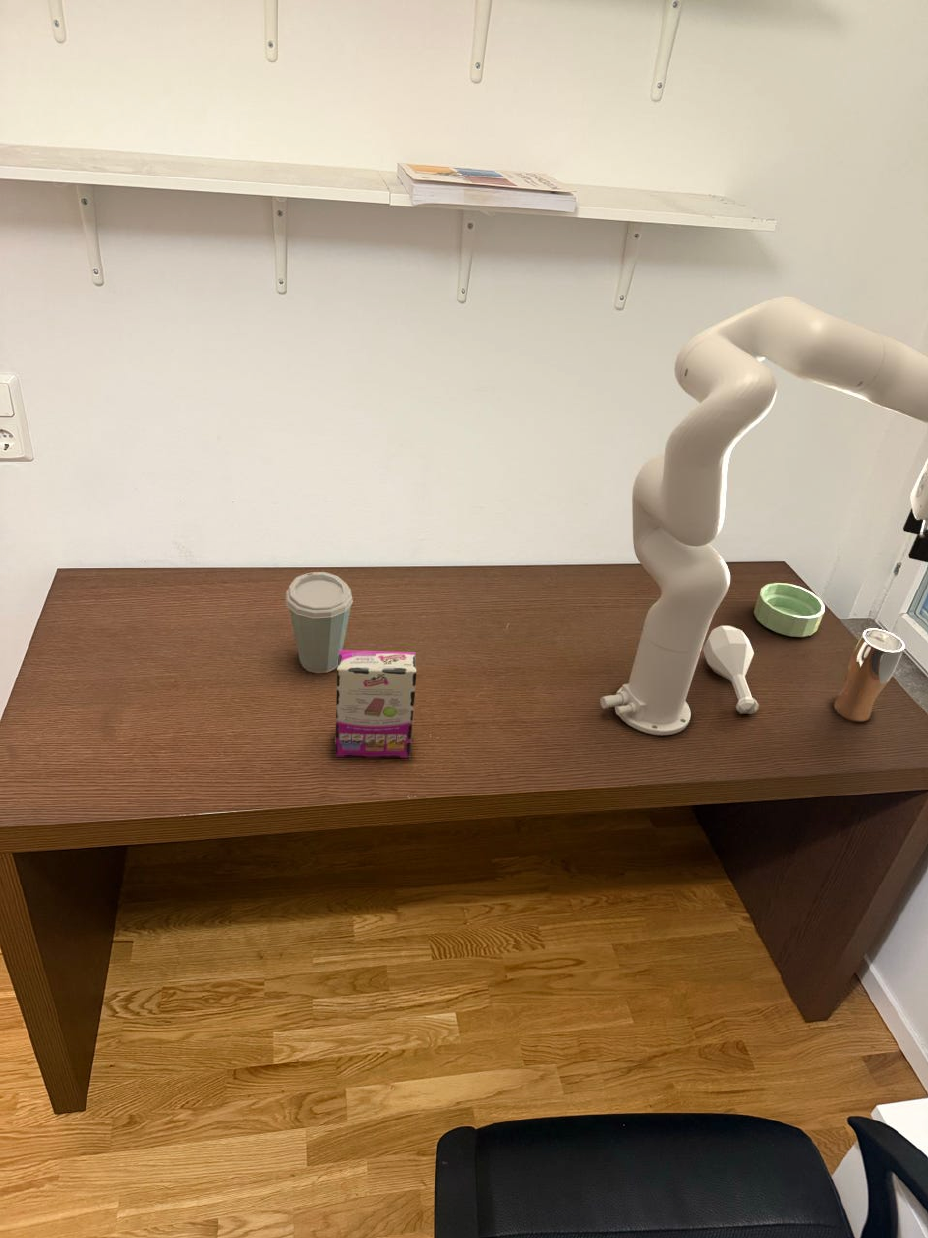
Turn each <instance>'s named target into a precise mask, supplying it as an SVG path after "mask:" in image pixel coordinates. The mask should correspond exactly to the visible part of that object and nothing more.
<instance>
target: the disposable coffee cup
mask: <svg viewBox="0 0 928 1238" xmlns="http://www.w3.org/2000/svg"><path fill="white" fill-rule="evenodd" d="M353 603H354V599H353V596H352V591H351V588H350V587H349V586H348V584H347V583H346V582H345V580H343V579H342V578H340V577H339V575H335V574H332V573H329V572H325V571H314V572H313V571H312V572H308V573H306V572H305V573H304V574H301V575H298V576H296V577H295V578H294V579H293V580H292V582H291V584H290V585H289V586H288V589H287V590H286V592H285V604H286V607H287V608H288V610H289V615H290V621H291V624H292V631H293V634H294V638H295V644H296V648H297V653H298V654H297V655H298V658H299V663H300V664H301V667H303V668H304V670H306V671H307V672H310V673H314V674H317V675H318V674H327V673H330V672H332V671H334V670H336V669H337V663H338V655H339V650H344V646H345V645H344V644H345V639H346V633H347V629H348V624H349V617H350V615H351V614H350V613H351V609H352V604H353Z"/></svg>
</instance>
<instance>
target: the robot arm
mask: <svg viewBox="0 0 928 1238" xmlns="http://www.w3.org/2000/svg"><path fill="white" fill-rule="evenodd" d="M765 359H766V360H768V361H769V362H771V363H772V364H774V365H776V366H777V367H779V368H780V369H782V370H784V371H785V372H787V373H789V374H790V375H793V376H794V377H797V378H799V379H801V380H805V381H808V382H810V383H814V384H817V385H820V386H822V387H826V388H829V389H832V390H835V391H839V392H841V393H844V394H847V395H851V396H854V397H856V398H859V399H861V400H864V401H866V402H868V403H870V404H873V405H876V406H878V407H881V408H883V409H886V410H890V411H893V412H895V413H899V414H901V415H904V416H907V417H908V418H912V419H914V420H917V421H919V422H921V423H923V424H927V425H928V356H926V355H925V354H923V353H921V352H919V351H918V350H916V349H915V348H913V347H911V346H909V345H907V344H905V343H904V342H901V341H899V340H897V339H895V338H894V337H890V336H889V335H886V334H883V333H880V332H876V331H874V330H871V329H869V328H866V327H863V326H860V325H858V324H856V323H852V322H850V321H848V320H845V319H843V318H840V317H838V316H834V315H832V314H829V312H825V311H823V310H821V309H818V308H816V307H814V306H812V305H810V304H809V303H807V302H804V301H803V300H801V299H799V298H797V297H794V296H789V295H783V296H776V297H773V298H770V299H767V300H763V301H762V302H760V303H757V304H755V305H752V306H751V307H748V308H747V309H746V308H745V309H744V310H742V311H740V312H739V313H735V314H734V315H732V316H730V317H729V318H726V319H724V320H722V321H721V322H720V321H719V322H718V323H717V324H714V325H712V326H710V327H708V328H706V329H704V330H702V331H701V332H699V333H697V334H696V335H694V336H693V337H692V338H690V339H689V340H688V341H686V343H685V344H684V345H683V346H682V348H681V349H680V350H679V352H678V354H677V356H676V359H675V362H674V376H675V380H676V382H677V383H678V386H680V388H681V389H682V390H683V391H684V392H685V393H686V394H687V395H688V396H690V397H692V398H693V399H694V400H696V401H697V402H698V404H697V405H696V406H695V407H694V408H693V409H692V410H690V412H689V413H688V414H687V415H686V416H685V417H684V418H682V419H681V420H680V422H679V423H678V424H677V425H676V426H675V427H674V428H673V429H672V431H671V432H670V434H669V436H668V438H667V440H666V444H665V448H664V453H660V454H658V455H655V456H653V457H651V458H650V459H649V460H648V461H646V462H645V463H644V465H643V466H642V467H641V468H640V469H639V470H638V472H637V475H636V476H635V479H634V482H633V486H632V494H631V501H632V502H631V504H632V505H631V506H632V509H631V511H632V542H633V543H632V544H633V550H634V554H635V557H636V558H637V560H638V562H639V563H640V565H641V566H642V567H643V568H644V570H645V571H646V572H647V573H648V574H649V575H650V576H651V578H652V579H653V581H654V582H655V583H656V584H657V585H658V587H659V589H660V591H661V593H660V596H659V599H657V601H656V602H654V604H652V605H651V606H650V607H649V609H648V611H647V614H646V617H645V619H644V623H643V627H642V630H641V634H640V638H639V639H640V640H639V642H638V646H637V650H636V653H635V657H634V661H633V664H632V668H631V672H630V675H629V679H628V683H623V684H622V686H621V687H620V688H619V689H618V690H617V691H616V693H615V694H610V695H604V696H601V697H600V699H599V704H600V706H601V708H602V709H603V710H605V709H609V708H614V712H615V714H616V715H617V716H618V717H619V718H620V719H621V720H622V721H623V722H624V723H626V724H627V725H628V726H629V727H631V728H633V729H635V730H637V731H640V732H642V733H645V734H649V735H653V736H670V735H675V734H678V733H680V732H682V731H684V730H685V729H686V728H687V726H688V725H689V723H690V720H691V715H692V712H691V708H690V707H689V704H688V703H687V701H686V700H687V697H688V694H689V691H690V687H691V684H692V682H693V678H694V675H695V671H696V669H697V665H698V662H699V659H700V656H701V652H702V651H703V648H704V643H705V640H706V637H707V634H708V631H709V629H710V625H711V623H712V621H713V618H714V616H715V614H716V612H717V610H718V608H719V607H720V605H721V603H722V601H724V598H725V597H726V595H727V593H728V591H729V587H730V584H731V573H730V569H729V568H728V565H727V563H726V561H725V560H724V558H723V557H722V556H721V554H719V552H718V551H717V550H716V549H715V548H714V547H713V546H712V545H711V544H710V543H711V542H713V541H714V540H715V539H716V538H717V537H718V535H720V532H721V530H722V528H723V525H724V521H725V514H726V498H727V477H728V465H729V459H730V455H731V453H732V452H731V451H732V450H733V448H734V447H735V445H736V444H737V443H738V442H739V440H740V439H741V438H742V437H743V436H744V435H745V434H746V433H747V432H748V431H750V430H751V429H752V428H753V427H754V426H755V425H757V424H758V423H759V422H760V421H761V420H762V419H764V418H765V417H766V416H767V414H768V413H769V412H770V410H771V409H772V407H773V405H774V403H775V400H776V399H777V393H778V384H777V379H776V377H775V375H774V373H773V372H772V370H771V369H769V367H768V366H767V365H765V364H764V363H763V362H762V361H763V360H765ZM909 496H910V497H909V499H910V500H909V501H910V505H911V508H910V511H909V512H908V514H907V517H906V520H905V522H904V524H903V527H902V530H903V532H905V533H909V534H914V535H916V536H915V538H914V541H913V543H912V545H911V547H910V550H909V552H908V559H912V560H915V561H920V562H924V563H928V459H927V460H926V462H925V464H924V465H923V468H922V470H921V472H920V474H919V475H918V478H917V480H916V483H915V484H914V486H913V489H912V491H911V494H910V495H909Z"/></svg>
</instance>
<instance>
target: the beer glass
mask: <svg viewBox="0 0 928 1238" xmlns="http://www.w3.org/2000/svg"><path fill="white" fill-rule="evenodd" d="M904 649H905V643H904V642H903V640H901V638H900V637H898V636H896V635H895V634H894V633H891V632H889V631H886V630H883V629H879V628H868V629H866V630H864V631H863V632H862V635H861V637H860V638H859V640H858V642H857V643H856V646H855V647H854V650H853V651H852V654H851V656H850V660H849V663H848V667H847V671H846V677H845V682H844V685H843V688H842V690H841V692H840V693H839V695H838V696H837V698H836V699H835V700H834V703H833V708H834V710H835V711H836V712H837V713H838V714H839V715H840V716H841V717H843V718H845V719H846V720H850V721H852V722H857V723H859V722H860V723H861V722H866V721H868V720H869V719H870V718H871V715H872V711H873V706H874V703H875V701H876V699H877V697H878V696H879V695H880V693H881V692H882V691H883V689H885V687H886V686H887V685H888V684H889V682H890V680H891V679H892V677H893V675H894V674H895V672H896V669H897V668H898V665H899V663H900V660H901V657H902V654H903V652H904Z"/></svg>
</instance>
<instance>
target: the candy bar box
mask: <svg viewBox="0 0 928 1238" xmlns="http://www.w3.org/2000/svg"><path fill="white" fill-rule="evenodd" d="M416 683H417V660H416V652H415V651H390V650H389V651H388V650H387V651H386V650H385V651H384V650H357V649H355V650H353V649H343V650H339V655H338V663H337V667H336V696H335V697H336V700H335V702H336V703H335V739H334V742H335V743H334V756H335V757H337V758H385V759H386V758H392V759H393V758H394V759H395V758H397V759H409V758H410V753H411V745H412V744H411V743H412V733H413V732H412V731H413V720H414V706H415V697H416Z"/></svg>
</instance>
